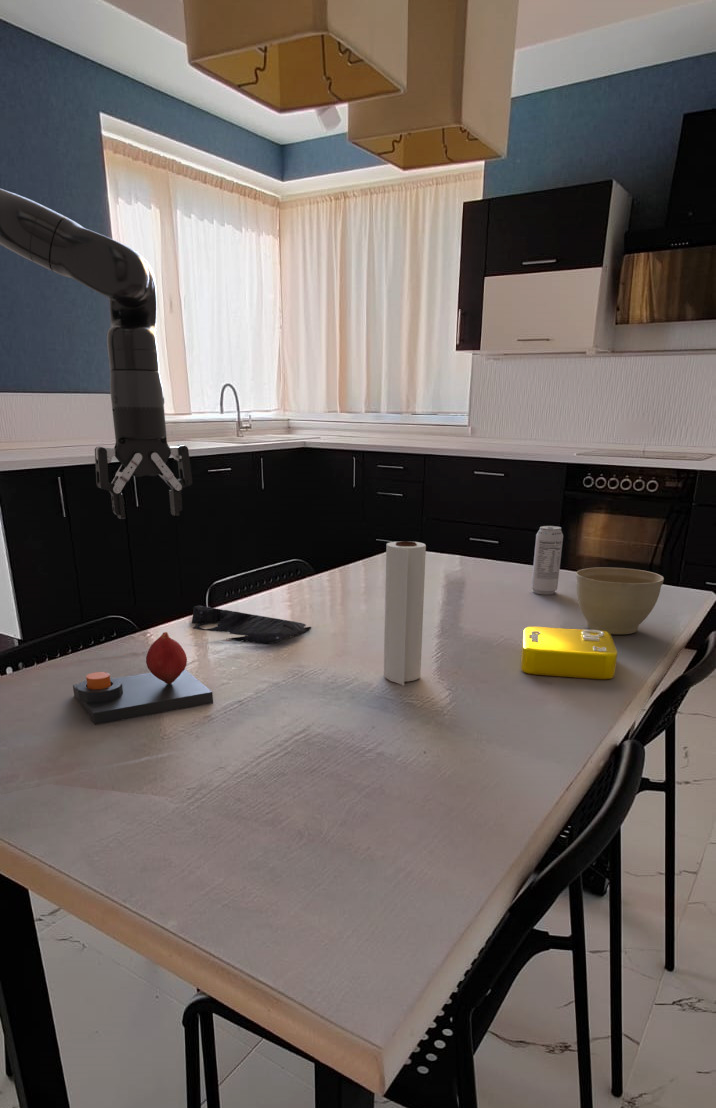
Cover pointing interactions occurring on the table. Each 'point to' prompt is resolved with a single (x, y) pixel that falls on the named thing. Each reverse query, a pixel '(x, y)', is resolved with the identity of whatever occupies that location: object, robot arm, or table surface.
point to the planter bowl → (617, 597)
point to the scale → (141, 697)
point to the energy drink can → (547, 560)
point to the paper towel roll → (404, 610)
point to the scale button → (98, 680)
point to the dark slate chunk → (247, 625)
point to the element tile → (568, 653)
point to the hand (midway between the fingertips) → (148, 516)
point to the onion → (166, 659)
